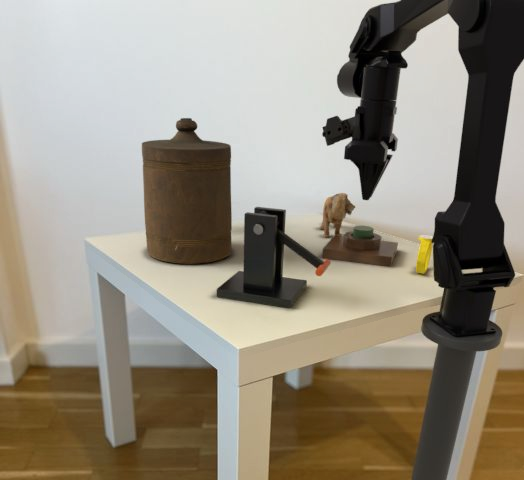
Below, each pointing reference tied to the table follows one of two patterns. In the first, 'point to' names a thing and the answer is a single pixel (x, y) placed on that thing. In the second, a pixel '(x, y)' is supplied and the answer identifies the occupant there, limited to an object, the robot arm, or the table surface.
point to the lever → (302, 251)
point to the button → (363, 232)
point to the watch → (424, 253)
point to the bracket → (263, 264)
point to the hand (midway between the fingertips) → (366, 198)
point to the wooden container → (187, 197)
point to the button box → (361, 249)
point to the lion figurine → (335, 212)
